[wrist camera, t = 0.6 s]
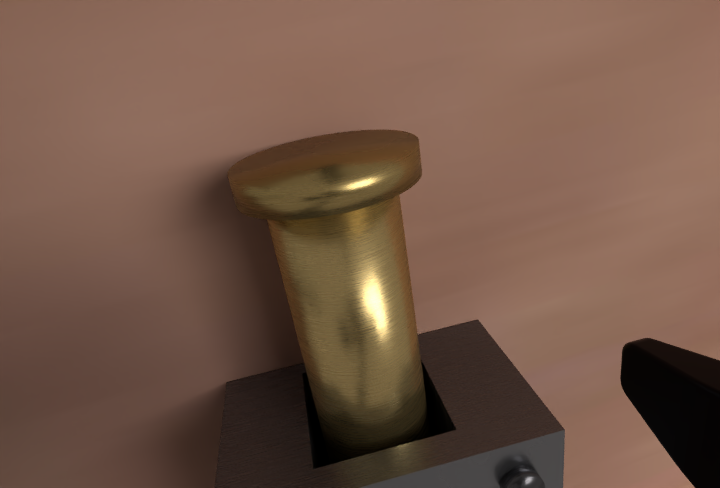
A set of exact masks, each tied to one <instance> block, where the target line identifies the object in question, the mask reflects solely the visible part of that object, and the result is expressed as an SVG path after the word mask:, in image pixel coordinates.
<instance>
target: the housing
mask: <svg viewBox="0 0 720 488" xmlns="http://www.w3.org/2000/svg"><path fill="white" fill-rule="evenodd" d="M418 342H419V349H420V357H421V365H422V372H423V380H424V388H425V395H426V403H427V411H428V419H429V426H430V434H431V437H428V438H425V439H421V440H418V441H414V442H410V443H407V444H403V445H399V446H396V447H392V448H388V449H385V450H381V451H377V452H374V453H370V454H367V455H363V456H359V457H356V458H352V459H348V460H345V461H341V462H337V463H334V464H330V461H329V457H328V453H327V449H326V446H325V442H324V438H323V434H322V430H321V426H320V422H319V419H318V415H317V411H316V407H315V403H314V399H313V395H312V392H311V388H310V384H309V380H308V376H307V372H306V368H305V365H304V363H303V364H299V365H295V366H291V367H287V368H283V369H279V370H275V371H271V372H267V373H263V374H259V375H255V376H251V377H247V378H243V379H239V380H235V381H231V382H227V385H226V394H225V402H224V411H223V420H222V428H221V437H220V446H219V455H218V463H217V472H216V481H215V488H563V470H564V437H565V430H564V428H563V427H562V426H561V425H560V423H559V422H558V421H557V419H556V418H555V417H554V416H553V414H552V413H551V412H550V411H549V409H548V408H547V407H546V405H545V404H544V403H543V402H542V400H541V399H540V398H539V397H538V395H537V394H536V393H535V391H534V390H533V389H532V388H531V386H530V385H529V384H528V383H527V381H526V380H525V379H524V378H523V376H522V375H521V374H520V372H519V371H518V370H517V369H516V367H515V366H514V365H513V364H512V362H511V361H510V360H509V358H508V357H507V356H506V355H505V353H504V352H503V351H502V350H501V348H500V347H499V346H498V344H497V343H496V342H495V341H494V339H493V338H492V337H491V336H490V334H489V333H488V332H487V331H486V329H485V328H484V327H483V325H482V324H481V323H480V322H479V320H475V321H471V322H467V323H463V324H459V325H455V326H451V327H447V328H443V329H439V330H435V331H431V332H427V333H423V334H419V335H418Z"/></svg>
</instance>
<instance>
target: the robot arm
mask: <svg viewBox="0 0 720 488" xmlns="http://www.w3.org/2000/svg"><path fill="white" fill-rule="evenodd" d="M621 385H622V388H623V390H624V392H625V394H626V395H627V397H628V398H629V400H630V401H631V402H632V404H633V405H634V407H635V408H636V409H637V411H638V412H639V414H640V415H641V416H642V418H643V419H644V420H645V422H646V423H647V425H648V426H649V427H650V429H651V430H652V432H653V433H654V434H655V436H656V437H657V438H658V440H659V441H660V443H661V444H662V445H663V447H664V448H665V450H666V451H667V452H668V454H669V455H670V457H671V458H672V459H673V461H674V462H675V463H676V465H677V466H678V467H679V468H680V470H681V471H682V472H683V474H684V475H685V476H686V477H687V478H688V480H689V481H690V482H691V483H692V484H693V486H694V487H695V488H720V361H719V360H716V359H713V358H710V357H707V356H704V355H701V354H698V353H695V352H692V351H688V350H685V349H682V348H679V347H676V346H673V345H670V344H667V343H664V342H661V341H657V340H654V339H651V338H643V339H640V340H636V341H632V342H629V343H627V344H625V346H624V347H623V350H622V363H621Z"/></svg>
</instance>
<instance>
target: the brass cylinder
mask: <svg viewBox="0 0 720 488" xmlns="http://www.w3.org/2000/svg"><path fill="white" fill-rule="evenodd" d="M227 176H228V179H229V183H230V186H231V190H232V193H233V197H234V200H235V204H236V207H237V209H238V210H239V211H240V212H241V213H243V214H245V215H247V216H250V217H254V218H259V219H267V222H268V226H269V230H270V234H271V237H272V241H273V245H274V249H275V253H276V257H277V260H278V264H279V268H280V272H281V276H282V280H283V284H284V287H285V291H286V295H287V299H288V303H289V307H290V311H291V314H292V318H293V322H294V326H295V330H296V334H297V338H298V341H299V345H300V349H301V353H302V357H303V361H304V365H305V368H306V372H307V376H308V380H309V384H310V388H311V392H312V395H313V399H314V403H315V407H316V411H317V415H318V419H319V422H320V426H321V430H322V434H323V438H324V442H325V446H326V449H327V453H328V457H329V461H330V464H334V463H337V462H341V461H345V460H348V459H352V458H356V457H359V456H363V455H367V454H370V453H374V452H377V451H381V450H385V449H388V448H392V447H396V446H399V445H403V444H407V443H410V442H414V441H418V440H421V439H425V438H428V437H431V434H430V426H429V419H428V411H427V403H426V395H425V388H424V380H423V372H422V365H421V357H420V349H419V342H418V334H417V326H416V319H415V311H414V303H413V296H412V288H411V280H410V273H409V265H408V257H407V250H406V242H405V234H404V227H403V219H402V211H401V204H400V196H399V194H401V193H403V192H405V191H406V190H408V189H409V188H411V187H412V186H413V185H415V184H416V183H417V182H418V181H419V179H420V178H421V176H422V166H421V157H420V148H419V139H418V137H417V136H415V135H414V134H411V133H408V132H404V131H398V130H361V131H350V132H342V133H334V134H328V135H322V136H317V137H312V138H307V139H302V140H298V141H294V142H290V143H286V144H283V145H279V146H276V147H273V148H270V149H267V150H264V151H261V152H258V153H256V154H253V155H251V156H249V157H247V158H245V159H243V160H241V161H239V162H238V163H236V164H235V165H233V166H232V167H231V168H230V169H229V171H228V175H227Z"/></svg>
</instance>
